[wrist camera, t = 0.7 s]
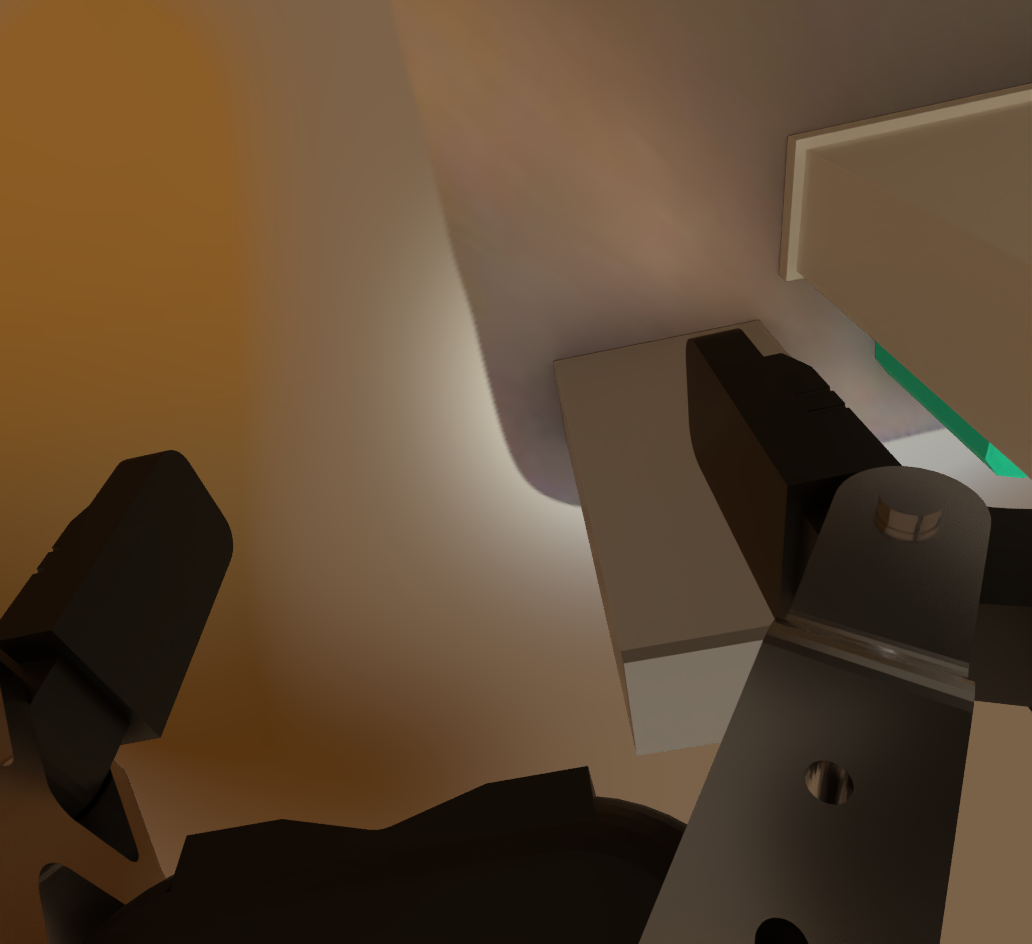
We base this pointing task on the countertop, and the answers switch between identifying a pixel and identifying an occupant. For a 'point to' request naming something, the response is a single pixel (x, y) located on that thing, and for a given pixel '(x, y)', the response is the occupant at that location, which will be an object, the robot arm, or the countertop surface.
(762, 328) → the grey pedestal
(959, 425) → the candle
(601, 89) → the countertop surface
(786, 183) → the tall stand
